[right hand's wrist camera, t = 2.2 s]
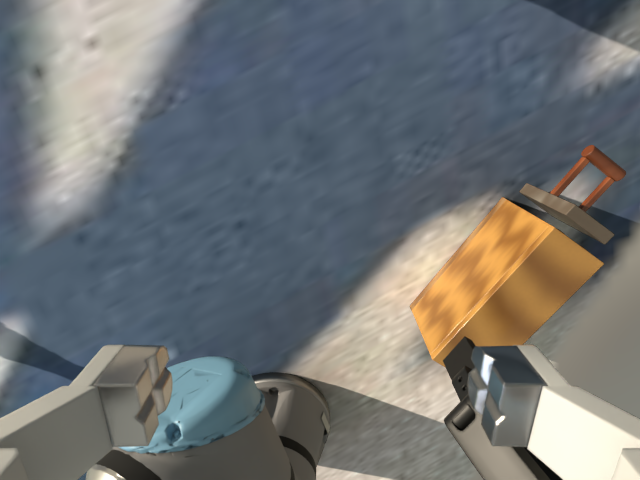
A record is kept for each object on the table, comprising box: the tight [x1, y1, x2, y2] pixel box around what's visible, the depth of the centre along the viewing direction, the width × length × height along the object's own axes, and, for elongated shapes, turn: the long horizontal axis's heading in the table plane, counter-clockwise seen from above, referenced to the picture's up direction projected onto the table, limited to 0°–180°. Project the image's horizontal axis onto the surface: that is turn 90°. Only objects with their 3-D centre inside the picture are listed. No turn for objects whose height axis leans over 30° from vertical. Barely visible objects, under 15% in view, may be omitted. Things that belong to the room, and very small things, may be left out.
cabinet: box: [410, 197, 604, 367], centre depth 43 cm, size 17×6×11 cm, turn 146°
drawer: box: [519, 145, 626, 250], centre depth 41 cm, size 22×5×9 cm, turn 146°
